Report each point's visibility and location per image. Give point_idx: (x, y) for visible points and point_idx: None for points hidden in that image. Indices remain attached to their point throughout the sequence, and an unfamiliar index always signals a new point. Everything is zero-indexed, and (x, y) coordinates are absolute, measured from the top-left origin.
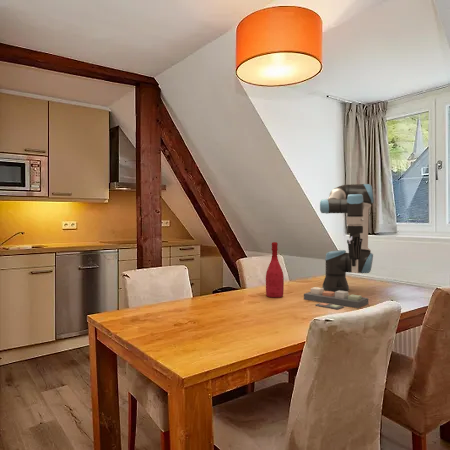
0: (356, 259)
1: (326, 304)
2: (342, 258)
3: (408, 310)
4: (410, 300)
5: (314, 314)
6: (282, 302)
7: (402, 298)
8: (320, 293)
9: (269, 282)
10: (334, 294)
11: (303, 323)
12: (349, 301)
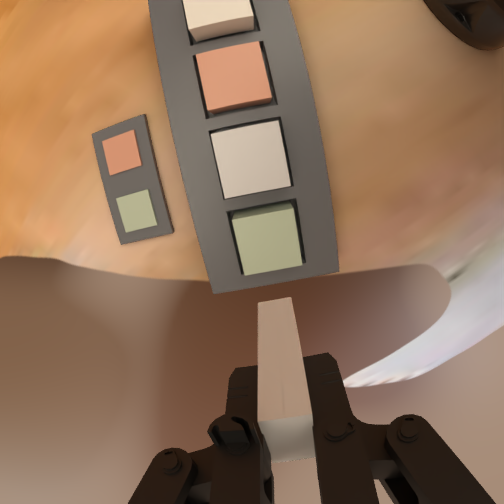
0: (313, 447)
1: (122, 169)
2: None
3: None
4: (477, 313)
5: (24, 236)
6: (50, 27)
7: (493, 281)
8: (214, 33)
9: None
10: (254, 102)
11: None
12: (201, 249)
